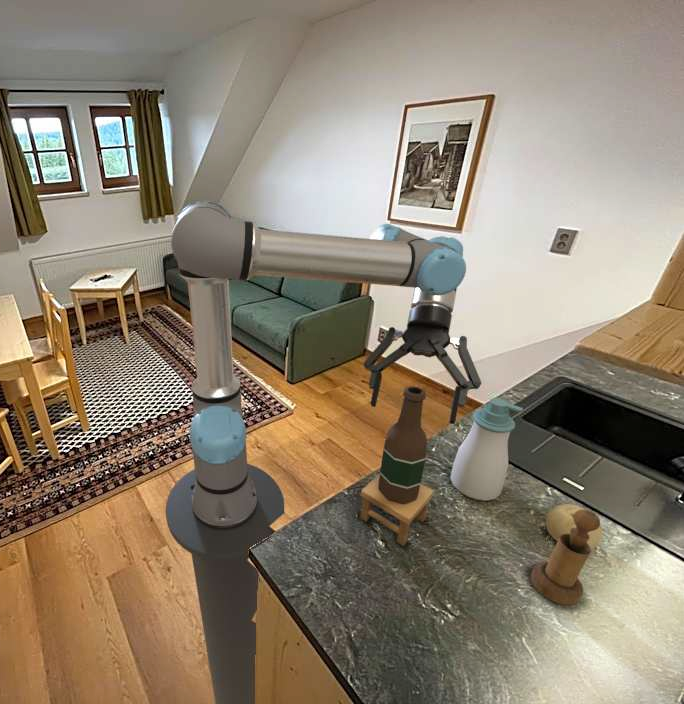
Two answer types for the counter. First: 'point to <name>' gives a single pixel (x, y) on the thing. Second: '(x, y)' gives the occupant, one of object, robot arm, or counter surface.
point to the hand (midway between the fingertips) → (410, 413)
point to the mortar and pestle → (566, 562)
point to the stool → (395, 508)
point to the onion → (568, 523)
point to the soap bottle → (485, 452)
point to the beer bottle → (404, 451)
